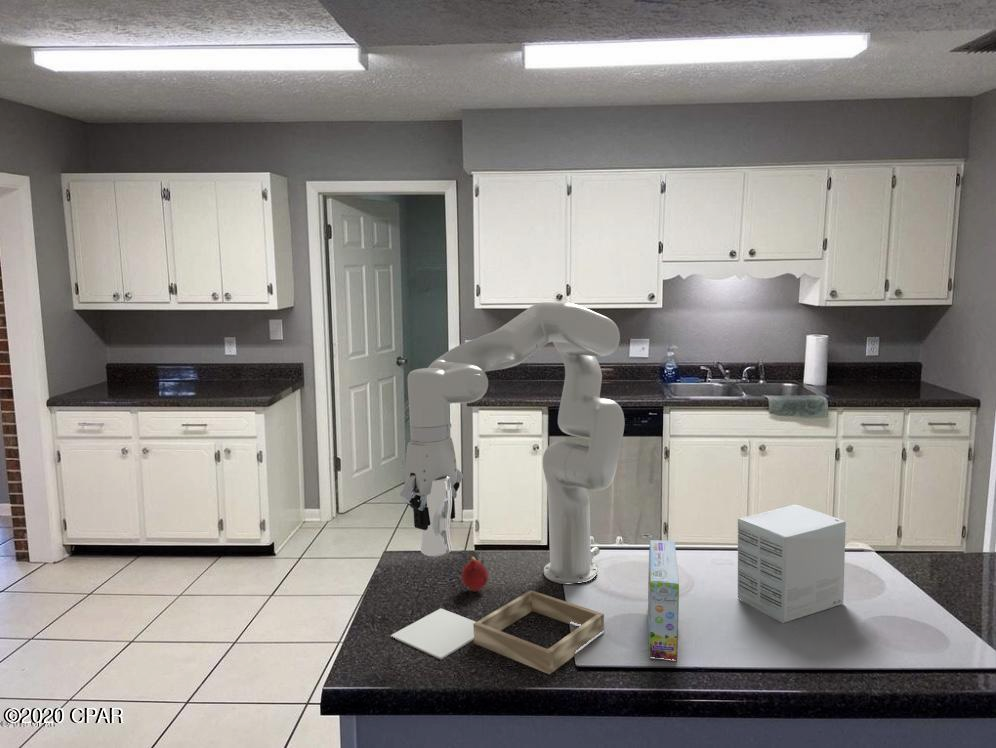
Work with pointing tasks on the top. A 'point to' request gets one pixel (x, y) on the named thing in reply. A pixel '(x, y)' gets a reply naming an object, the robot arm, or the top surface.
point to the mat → (438, 633)
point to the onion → (474, 575)
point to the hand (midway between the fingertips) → (435, 522)
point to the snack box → (663, 600)
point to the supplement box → (791, 562)
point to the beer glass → (438, 519)
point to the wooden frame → (529, 653)
